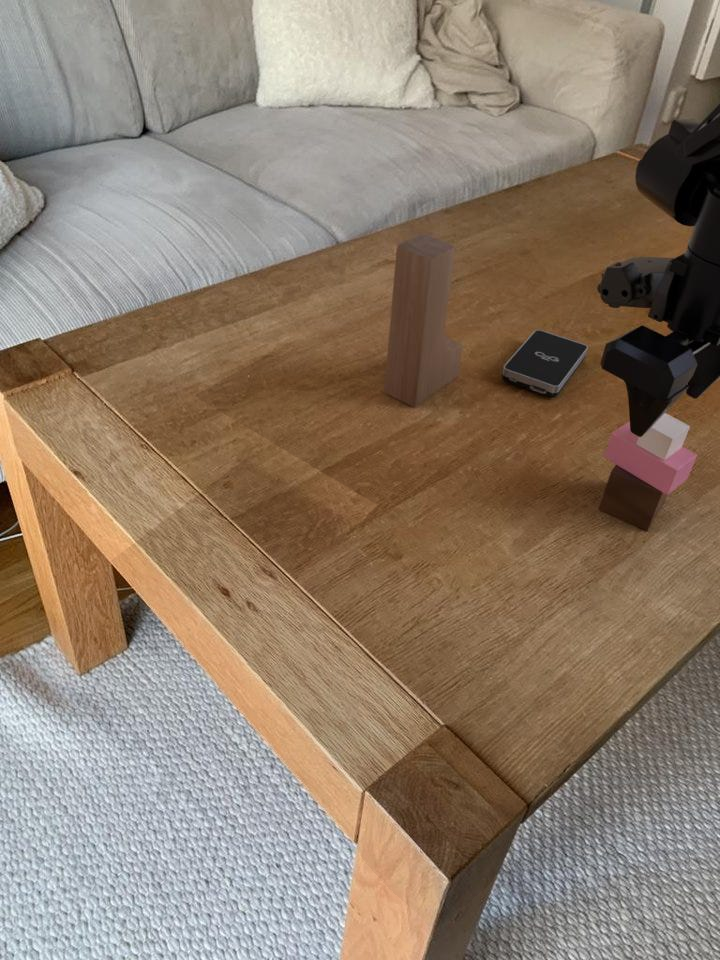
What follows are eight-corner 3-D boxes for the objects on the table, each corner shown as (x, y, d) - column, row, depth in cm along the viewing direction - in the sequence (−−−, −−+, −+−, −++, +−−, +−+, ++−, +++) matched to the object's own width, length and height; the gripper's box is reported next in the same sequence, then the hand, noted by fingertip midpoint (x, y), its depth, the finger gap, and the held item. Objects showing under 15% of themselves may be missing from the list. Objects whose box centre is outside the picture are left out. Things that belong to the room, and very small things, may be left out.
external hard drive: (499, 382, 96) (501, 368, 95) (533, 342, 104) (536, 328, 102) (554, 402, 94) (558, 387, 92) (586, 359, 101) (589, 345, 100)
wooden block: (428, 362, 99) (446, 218, 87) (459, 376, 97) (482, 231, 85) (382, 393, 93) (395, 244, 82) (414, 409, 91) (431, 259, 80)
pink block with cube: (687, 479, 77) (707, 433, 73) (666, 495, 75) (685, 448, 71) (624, 442, 80) (640, 397, 77) (603, 457, 78) (618, 411, 75)
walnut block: (664, 503, 81) (679, 465, 78) (647, 531, 78) (662, 492, 75) (616, 483, 83) (629, 445, 80) (598, 509, 80) (611, 471, 77)
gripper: (695, 190, 72) (645, 342, 83) (569, 245, 62) (529, 410, 73) (817, 235, 67) (746, 393, 77) (699, 304, 57) (636, 474, 67)
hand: (664, 414), depth 73 cm, fingers open, 9 cm apart
